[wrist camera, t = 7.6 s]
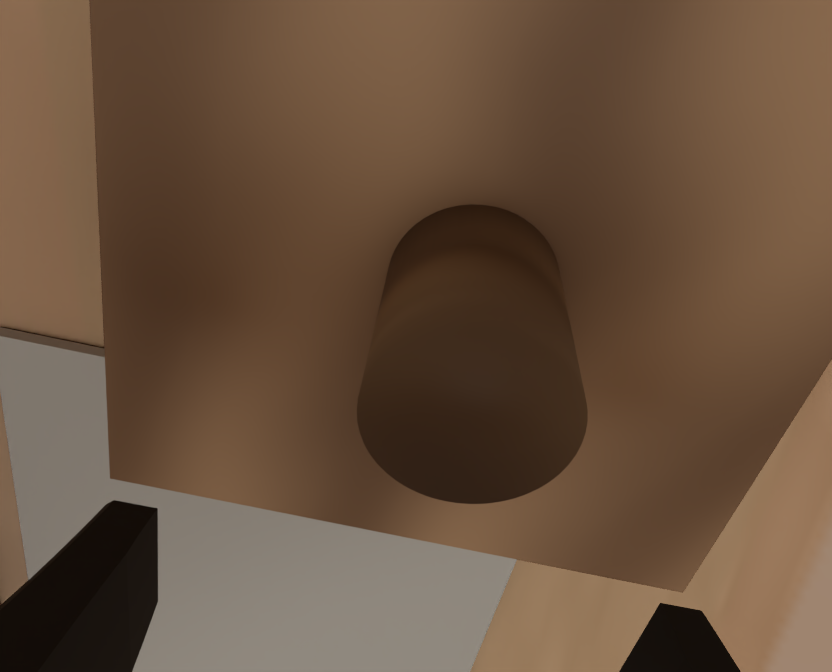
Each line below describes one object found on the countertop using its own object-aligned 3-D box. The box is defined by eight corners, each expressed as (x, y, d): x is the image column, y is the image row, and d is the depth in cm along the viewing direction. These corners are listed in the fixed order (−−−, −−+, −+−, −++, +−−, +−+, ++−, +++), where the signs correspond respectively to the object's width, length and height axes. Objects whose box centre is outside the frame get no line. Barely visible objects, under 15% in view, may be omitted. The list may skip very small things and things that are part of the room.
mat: (46, 661, 30) (41, 669, 30) (-1, 327, 21) (-9, 334, 21) (440, 733, 31) (440, 743, 31) (560, 442, 22) (561, 450, 21)
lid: (120, 460, 17) (16, 627, 13) (97, -284, 10) (-154, -395, 6) (677, 572, 18) (731, 763, 14) (1057, -46, 10) (1403, -5, 7)
